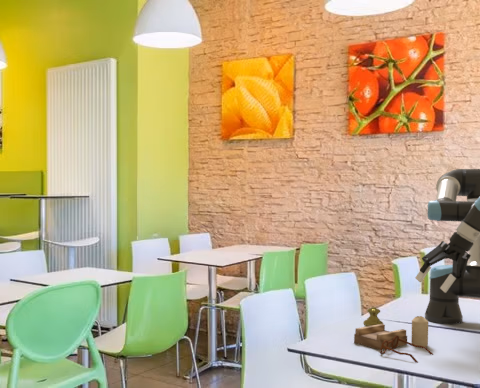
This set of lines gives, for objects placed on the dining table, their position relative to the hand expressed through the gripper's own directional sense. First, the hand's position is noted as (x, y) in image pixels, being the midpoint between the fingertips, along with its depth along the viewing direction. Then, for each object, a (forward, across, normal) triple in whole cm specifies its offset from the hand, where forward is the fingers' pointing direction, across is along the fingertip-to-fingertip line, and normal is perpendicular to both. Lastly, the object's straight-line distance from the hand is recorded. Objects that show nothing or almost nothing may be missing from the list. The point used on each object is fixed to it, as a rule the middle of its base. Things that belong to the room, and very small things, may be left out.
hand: (430, 285), depth 207 cm
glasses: (+20, -12, -19) cm, 30 cm away
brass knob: (+28, -3, +6) cm, 29 cm away
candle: (+19, 0, -11) cm, 22 cm away
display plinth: (+25, -10, -6) cm, 28 cm away
